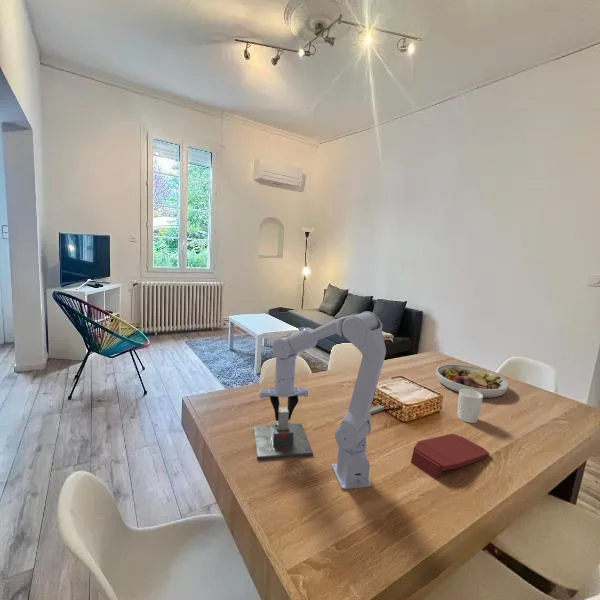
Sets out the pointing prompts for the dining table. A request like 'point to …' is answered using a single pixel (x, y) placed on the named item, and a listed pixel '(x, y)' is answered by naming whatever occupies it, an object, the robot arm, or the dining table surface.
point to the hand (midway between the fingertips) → (282, 418)
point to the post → (282, 419)
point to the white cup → (469, 405)
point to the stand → (281, 442)
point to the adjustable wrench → (376, 409)
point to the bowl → (472, 380)
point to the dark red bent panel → (445, 454)
